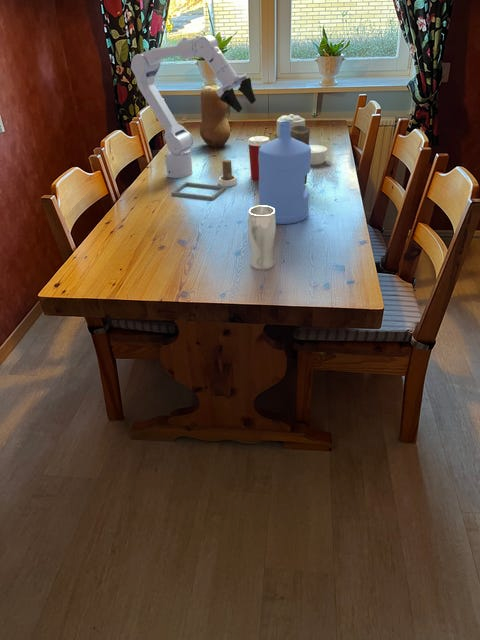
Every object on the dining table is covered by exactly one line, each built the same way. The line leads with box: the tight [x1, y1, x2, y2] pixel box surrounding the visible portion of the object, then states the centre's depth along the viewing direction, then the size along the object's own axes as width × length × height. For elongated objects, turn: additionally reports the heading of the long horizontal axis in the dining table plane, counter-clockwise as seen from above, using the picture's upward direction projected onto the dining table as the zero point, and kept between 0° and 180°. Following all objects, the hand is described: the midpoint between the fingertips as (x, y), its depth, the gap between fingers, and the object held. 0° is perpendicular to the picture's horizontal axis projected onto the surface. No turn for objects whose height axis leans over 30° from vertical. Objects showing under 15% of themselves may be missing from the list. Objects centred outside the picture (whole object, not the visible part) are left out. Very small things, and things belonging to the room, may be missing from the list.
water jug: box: [258, 121, 311, 225], centre depth 149 cm, size 16×16×28 cm
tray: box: [171, 181, 227, 201], centre depth 174 cm, size 16×11×2 cm
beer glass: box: [247, 205, 277, 271], centre depth 126 cm, size 7×7×15 cm
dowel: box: [221, 159, 233, 180], centre depth 179 cm, size 3×3×8 cm
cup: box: [218, 174, 238, 187], centre depth 181 cm, size 6×6×3 cm
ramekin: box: [309, 144, 329, 166], centre depth 200 cm, size 11×11×5 cm
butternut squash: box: [199, 85, 231, 149], centre depth 218 cm, size 14×13×25 cm
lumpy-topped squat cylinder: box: [276, 113, 306, 138], centre depth 234 cm, size 10×13×9 cm
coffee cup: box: [247, 135, 271, 182], centre depth 181 cm, size 8×8×15 cm
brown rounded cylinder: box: [290, 125, 311, 185], centre depth 173 cm, size 8×7×20 cm
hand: (247, 106), depth 167 cm, fingers open, 7 cm apart
